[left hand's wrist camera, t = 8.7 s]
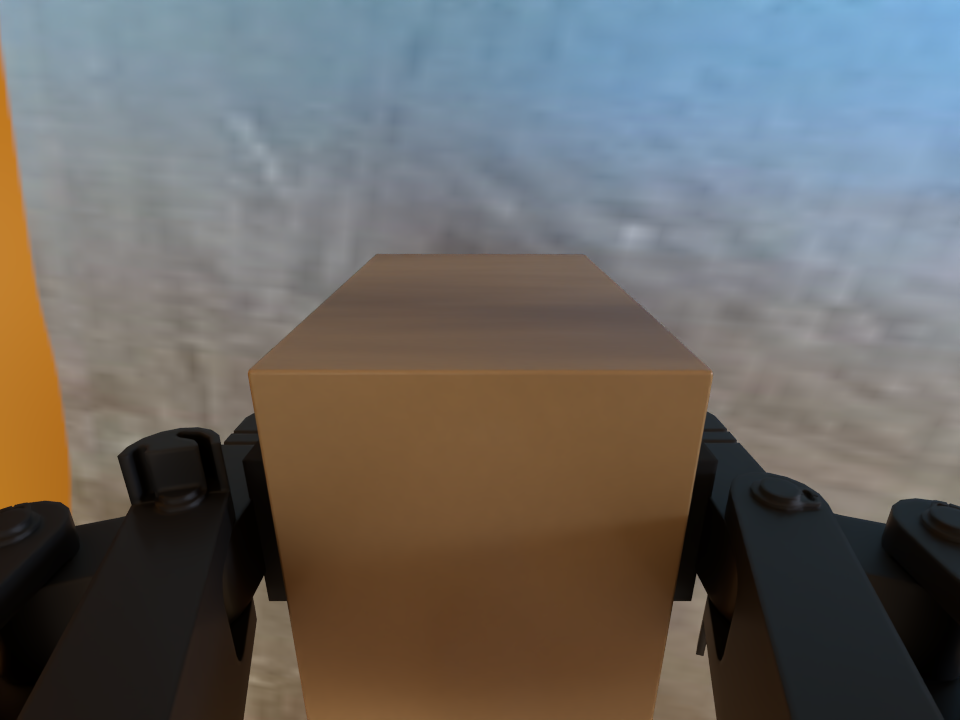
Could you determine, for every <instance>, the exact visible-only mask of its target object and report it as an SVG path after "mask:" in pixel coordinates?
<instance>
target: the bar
mask: <svg viewBox="0 0 960 720" xmlns="http://www.w3.org/2000/svg"><path fill="white" fill-rule="evenodd" d="M248 377H249V383H250V389H251V395H252V401H253V406H254V412H255V418H256V424H257V430H258V435H259V441H260V447H261V453H262V459H263V464H264V470H265V476H266V482H267V488H268V493H269V499H270V505H271V511H272V517H273V522H274V528H275V534H276V540H277V546H278V551H279V557H280V563H281V569H282V575H283V580H284V586H285V592H286V598H287V604H288V609H289V615H290V621H291V627H292V633H293V638H294V644H295V650H296V656H297V662H298V667H299V673H300V679H301V685H302V690H303V696H304V702H305V708H306V714H307V719H308V720H652V719H653V713H654V708H655V702H656V696H657V691H658V685H659V679H660V674H661V668H662V662H663V657H664V651H665V645H666V639H667V634H668V628H669V622H670V617H671V611H672V605H673V600H674V594H675V588H676V583H677V577H678V571H679V566H680V560H681V554H682V549H683V543H684V537H685V532H686V526H687V520H688V515H689V509H690V503H691V498H692V492H693V486H694V481H695V475H696V469H697V464H698V458H699V452H700V446H701V441H702V435H703V429H704V424H705V418H706V412H707V407H708V401H709V395H710V390H711V384H712V378H713V372H712V370H711V369H710V368H709V367H708V366H706V365H705V364H704V363H703V362H702V361H701V360H700V359H699V358H698V357H697V356H695V355H694V354H693V353H692V352H691V351H690V350H689V349H688V348H687V347H686V346H684V345H683V344H682V343H681V342H680V341H679V340H678V339H677V338H676V337H675V336H673V335H672V334H671V333H670V332H669V331H668V330H667V329H666V328H665V327H664V326H662V325H661V324H660V323H659V322H658V321H657V320H656V319H655V318H654V317H653V316H651V315H650V314H649V313H648V312H647V311H646V310H645V309H644V308H643V307H642V306H640V305H639V304H638V303H637V302H636V301H635V300H634V299H633V298H632V297H631V296H629V295H628V294H627V293H626V292H625V291H624V290H623V289H622V288H621V287H620V286H618V285H617V284H616V283H615V282H614V281H613V280H612V279H611V278H610V277H609V276H607V275H606V274H605V273H604V272H603V271H602V270H601V269H600V268H599V267H598V266H596V265H595V264H594V263H593V262H592V261H591V260H590V259H589V258H588V257H587V256H585V255H584V254H376V255H375V256H374V257H373V258H372V259H371V260H369V261H368V262H367V263H366V264H365V265H364V266H363V267H362V268H361V269H360V270H358V271H357V272H356V273H355V274H354V275H353V276H352V277H351V278H350V279H349V280H347V281H346V282H345V283H344V284H343V285H342V286H341V287H340V288H339V289H338V290H336V291H335V292H334V293H333V294H332V295H331V296H330V297H329V298H328V299H327V300H325V301H324V302H323V303H322V304H321V305H320V306H319V307H318V308H317V309H316V310H314V311H313V312H312V313H311V314H310V315H309V316H308V317H307V318H306V319H305V320H303V321H302V322H301V323H300V324H299V325H298V326H297V327H296V328H295V329H294V330H292V331H291V332H290V333H289V334H288V335H287V336H286V337H285V338H284V339H283V340H281V341H280V342H279V343H278V344H277V345H276V346H275V347H274V348H273V349H272V350H270V351H269V352H268V353H267V354H266V355H265V356H264V357H263V358H262V359H261V360H259V361H258V362H257V363H256V364H255V365H254V366H253V367H252V368H251V369H250V370H249V372H248Z"/></svg>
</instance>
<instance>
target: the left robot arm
mask: <svg viewBox="0 0 960 720" xmlns="http://www.w3.org/2000/svg"><path fill="white" fill-rule="evenodd" d="M117 457H118V460H119V463H120V467H121V470H122V474H123V477H124V481H125V484H126V487H127V491H128V494H129V498H130V501H131V504H132V506H131V507H130V509H129V511H128V513H127V515H126V516H124V517H120V518H115V519H110V520H105V521H100V522H94V523H89V524H84V525H79V526H75V524H74V521H73V519H72V516H71V513H70V510H69V508H68V507H67V506H65V505H64V504H62V503H61V502H52V501H40V502H32V503H22V504H17V505H15V506H14V507H12V506H10V507H7V508H3V509H1V510H0V720H243V719H244V711H245V704H246V696H247V689H248V681H249V674H250V666H251V659H252V652H253V644H254V637H255V629H256V622H257V618H256V611H255V606H254V601H253V596H254V594H255V592H256V590H257V588H258V586H259V584H260V582H261V580H262V578H263V576H264V577H265V582H266V587H267V592H268V597H269V601H287V598H286V592H285V586H284V580H283V575H282V569H281V563H280V557H279V551H278V546H277V540H276V534H275V528H274V522H273V517H272V511H271V505H270V499H269V493H268V488H267V482H266V476H265V470H264V464H263V459H262V453H261V447H260V441H259V435H258V430H257V424H256V418H255V413H253V414H252V415H250V416H248V417H246V418H245V419H244V420H243V421H242V423H241V424H240V425H239V426H238V427H237V428H236V429H235V430H234V434H231V435H230V436H229V437H228V438H227V439H226V440H225V441H224V445H221V442H220V437H219V435H218V434H217V433H215V432H214V431H212V430H210V429H204V428H199V427H195V428H179V429H173V430H168V431H163V432H160V433H157V434H154V435H151V436H148V437H145V438H143V439H141V440H139V441H137V442H135V443H134V444H132V445H130V446H128V447H127V448H126V449H125V450H124V451H122V452H121V453H120V454H119V455H118V456H117ZM696 574H697V575H698V577H699V578H700V580H701V582H702V584H703V586H704V588H705V590H706V592H707V594H708V596H707V601H706V606H705V610H704V615H703V620H702V625H701V630H700V634H699V639H698V645H697V651H696V654H697V655H701V656H704V651H705V646H706V644H707V650H708V658H709V665H710V673H711V680H712V688H713V695H714V702H715V710H716V717H717V720H960V506H956V505H953V504H947V503H946V502H942V501H937V500H925V499H917V498H914V499H905V500H900V501H899V502H897V503H896V504H894V505H893V506H892V509H891V511H890V514H889V517H888V520H887V523H886V524H884V523H879V522H874V521H868V520H863V519H858V518H852V517H847V516H842V515H838V514H834V513H833V512H832V510H831V508H830V506H829V505H828V503H827V502H826V501H825V500H824V499H823V498H822V496H821V495H820V494H819V493H817V492H816V491H814V490H813V489H811V488H809V487H808V486H806V485H805V484H803V483H800V482H798V481H795V480H793V479H790V478H788V477H784V476H780V475H776V474H772V473H766V472H765V471H764V470H763V468H762V467H761V466H760V465H759V464H758V463H757V462H756V461H755V460H754V459H753V457H752V456H751V455H750V454H749V453H748V452H747V451H746V450H745V449H744V448H743V446H742V445H741V444H740V443H737V440H736V439H735V438H734V436H733V435H732V434H731V433H730V432H727V429H726V428H725V427H724V425H723V424H722V423H721V422H720V421H719V420H718V419H717V418H716V417H715V416H714V415H712V414H710V413H709V412H706V418H705V424H704V429H703V435H702V441H701V446H700V452H699V458H698V464H697V469H696V475H695V481H694V486H693V492H692V498H691V503H690V509H689V515H688V520H687V526H686V532H685V537H684V543H683V549H682V554H681V560H680V566H679V571H678V577H677V583H676V588H675V594H674V600H673V601H691V599H692V594H693V589H694V584H695V579H696Z"/></svg>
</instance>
